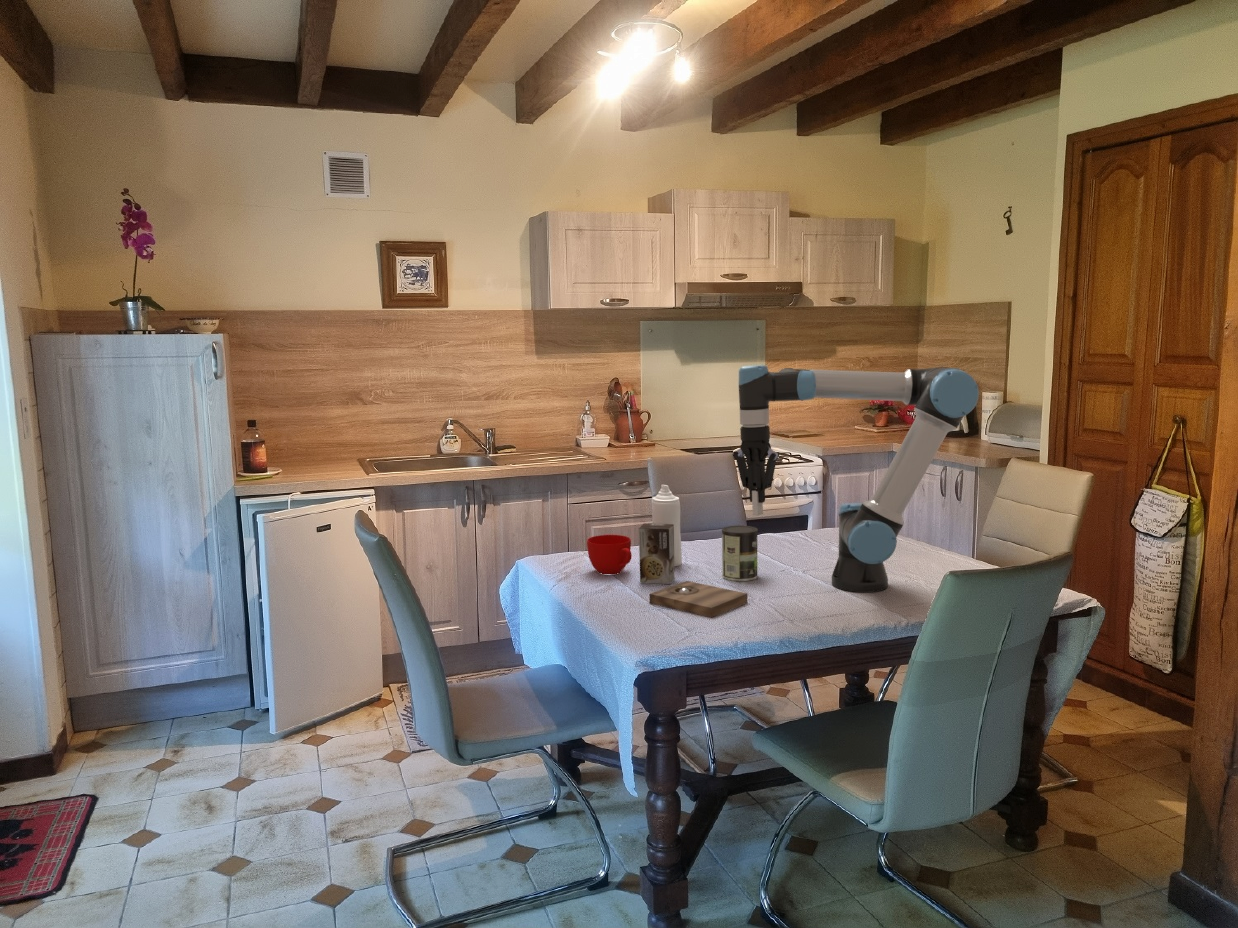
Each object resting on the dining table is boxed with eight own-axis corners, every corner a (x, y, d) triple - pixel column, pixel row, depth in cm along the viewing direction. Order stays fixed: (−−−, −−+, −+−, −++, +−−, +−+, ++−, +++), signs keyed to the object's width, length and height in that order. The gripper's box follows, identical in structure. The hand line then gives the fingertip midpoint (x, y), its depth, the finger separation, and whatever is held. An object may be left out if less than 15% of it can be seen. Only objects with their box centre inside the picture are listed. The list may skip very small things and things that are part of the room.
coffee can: (758, 572, 275) (758, 525, 273) (756, 582, 265) (756, 533, 263) (723, 571, 277) (723, 524, 275) (720, 580, 267) (720, 532, 265)
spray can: (692, 566, 283) (691, 484, 279) (660, 571, 279) (660, 488, 275) (673, 558, 293) (672, 479, 290) (643, 562, 289) (642, 482, 285)
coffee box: (675, 578, 270) (674, 523, 268) (670, 584, 264) (669, 528, 262) (644, 577, 273) (643, 522, 270) (638, 582, 266) (638, 527, 264)
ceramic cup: (612, 583, 266) (611, 549, 265) (579, 571, 280) (578, 538, 278) (648, 576, 274) (648, 542, 272) (614, 564, 287) (613, 532, 286)
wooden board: (747, 602, 246) (747, 593, 245) (711, 617, 234) (711, 607, 234) (686, 589, 259) (686, 580, 259) (649, 602, 247) (649, 593, 247)
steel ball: (692, 599, 250) (692, 588, 249) (685, 602, 247) (685, 590, 247) (683, 596, 252) (683, 585, 251) (675, 599, 249) (675, 588, 249)
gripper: (784, 424, 242) (786, 514, 245) (741, 423, 250) (744, 509, 254) (769, 427, 236) (772, 519, 240) (725, 426, 245) (729, 515, 248)
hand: (757, 514), depth 247 cm, fingers closed
